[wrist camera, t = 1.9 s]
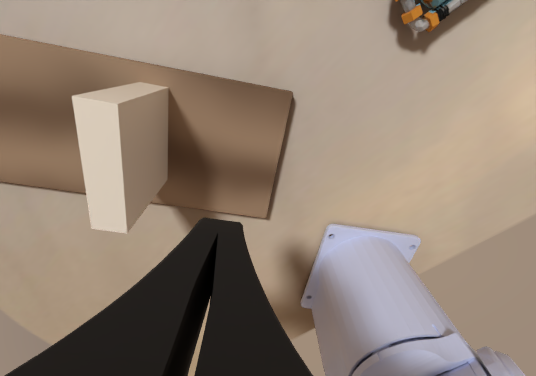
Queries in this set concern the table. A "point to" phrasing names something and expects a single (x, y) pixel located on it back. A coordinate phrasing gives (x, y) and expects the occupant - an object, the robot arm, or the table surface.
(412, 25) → the flamethrower
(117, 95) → the tile
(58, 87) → the board
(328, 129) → the table surface
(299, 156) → the table surface
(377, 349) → the robot arm
